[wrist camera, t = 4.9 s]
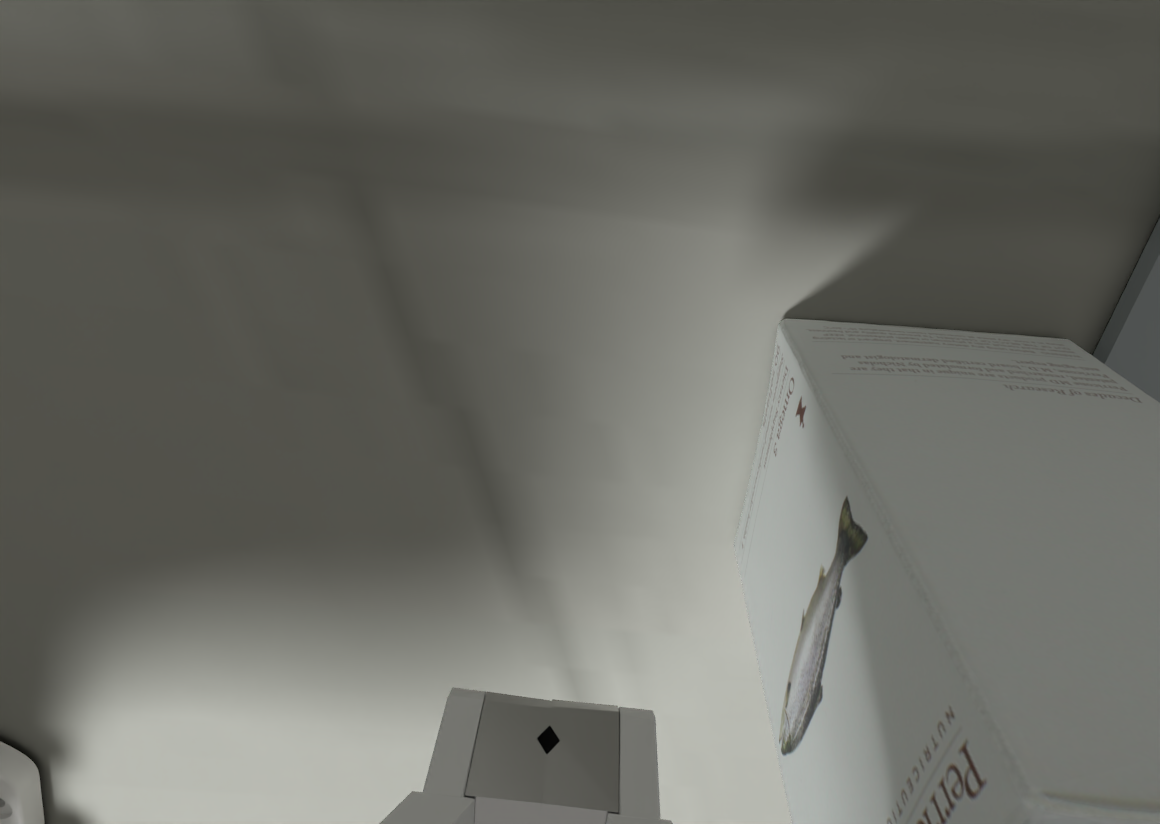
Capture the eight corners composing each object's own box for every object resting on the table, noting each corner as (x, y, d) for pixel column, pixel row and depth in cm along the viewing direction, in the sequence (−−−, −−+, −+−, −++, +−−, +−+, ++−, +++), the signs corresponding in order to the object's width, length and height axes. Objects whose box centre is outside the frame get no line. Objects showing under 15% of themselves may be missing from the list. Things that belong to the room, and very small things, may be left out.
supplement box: (772, 308, 17) (1041, 796, 6) (1075, 334, 17) (1888, 874, 6) (723, 545, 21) (839, 1126, 10) (974, 567, 21) (1378, 1178, 10)
